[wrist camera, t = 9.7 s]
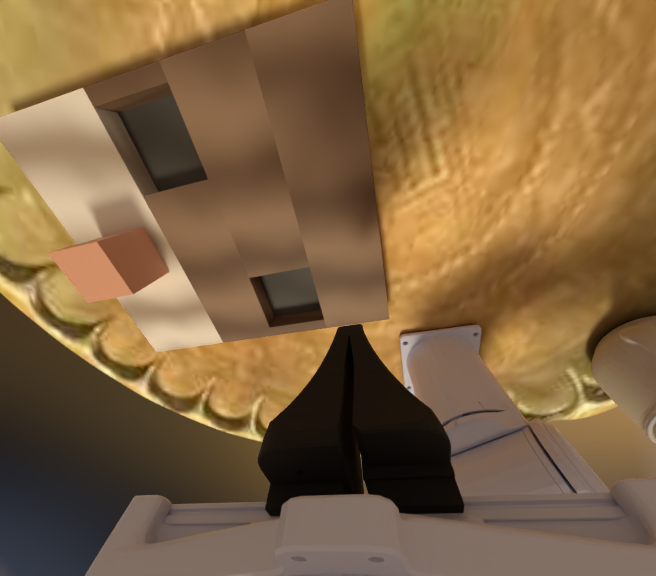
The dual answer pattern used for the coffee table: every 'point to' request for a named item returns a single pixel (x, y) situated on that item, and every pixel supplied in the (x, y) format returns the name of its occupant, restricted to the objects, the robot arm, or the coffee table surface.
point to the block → (111, 265)
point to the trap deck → (225, 179)
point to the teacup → (630, 370)
